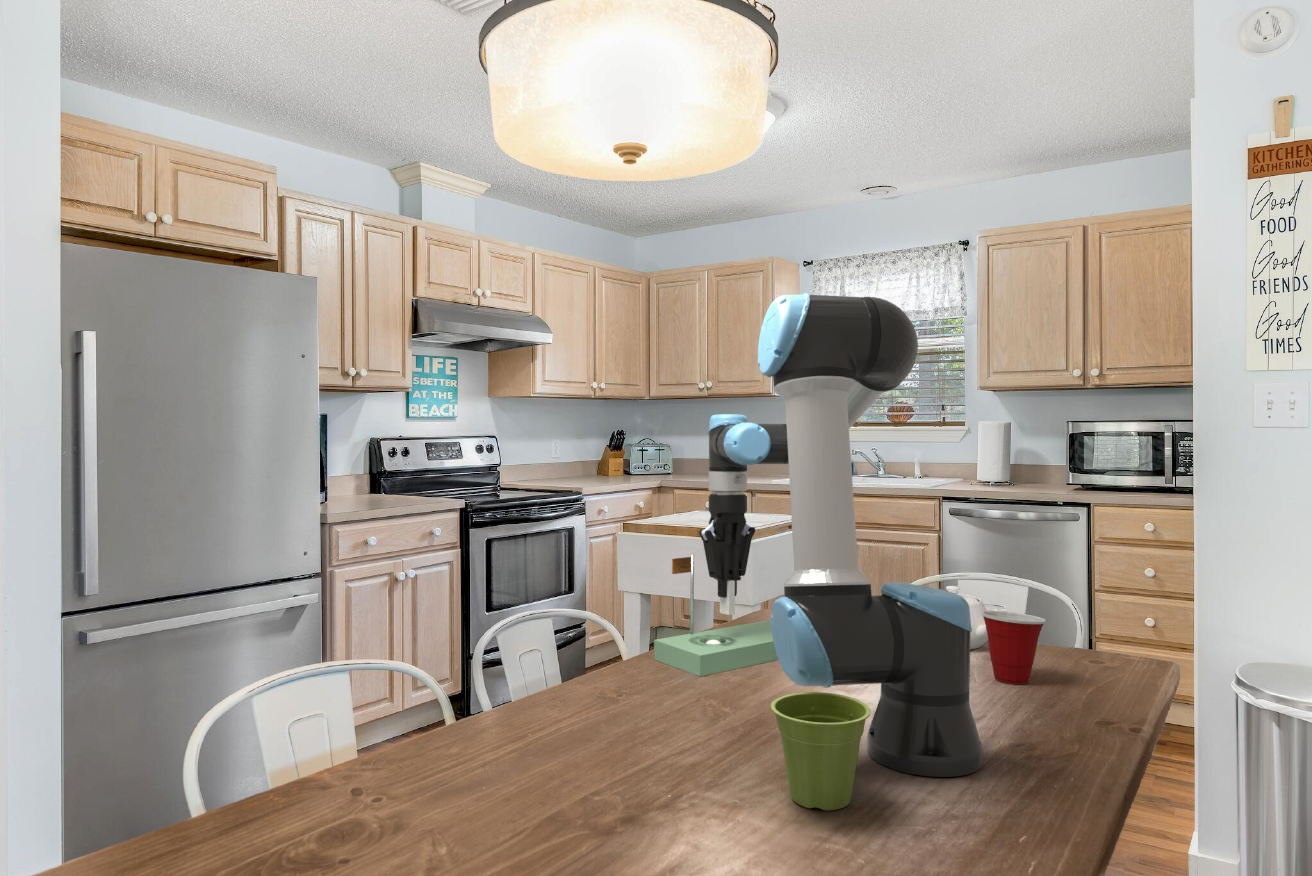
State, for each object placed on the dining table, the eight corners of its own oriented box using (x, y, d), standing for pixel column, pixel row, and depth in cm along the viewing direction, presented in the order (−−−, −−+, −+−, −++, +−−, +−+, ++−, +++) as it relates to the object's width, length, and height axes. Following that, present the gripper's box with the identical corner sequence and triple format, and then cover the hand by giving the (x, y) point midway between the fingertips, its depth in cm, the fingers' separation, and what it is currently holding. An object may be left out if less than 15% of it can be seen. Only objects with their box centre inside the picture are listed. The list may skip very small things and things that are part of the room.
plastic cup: (1057, 682, 153) (1058, 615, 152) (1023, 692, 146) (1024, 623, 146) (1002, 668, 161) (1003, 605, 161) (967, 677, 155) (968, 611, 155)
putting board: (699, 676, 154) (700, 655, 154) (653, 659, 166) (654, 639, 166) (821, 650, 173) (821, 631, 173) (772, 636, 185) (772, 619, 185)
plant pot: (800, 771, 112) (801, 685, 112) (886, 796, 104) (887, 704, 104) (751, 801, 102) (752, 708, 102) (841, 831, 95) (842, 730, 95)
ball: (718, 667, 163) (709, 653, 162) (705, 662, 167) (695, 648, 165) (731, 651, 165) (721, 637, 164) (717, 647, 168) (708, 633, 167)
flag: (673, 637, 167) (673, 556, 167) (670, 637, 168) (671, 556, 168) (694, 634, 170) (694, 554, 170) (691, 633, 171) (692, 553, 171)
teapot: (885, 637, 186) (885, 581, 186) (934, 628, 194) (934, 574, 194) (980, 665, 164) (980, 601, 164) (1032, 653, 172) (1032, 593, 172)
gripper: (715, 495, 160) (714, 620, 160) (765, 493, 168) (764, 612, 168) (689, 493, 166) (689, 614, 166) (739, 491, 174) (739, 606, 174)
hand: (727, 613), depth 167 cm, fingers closed
